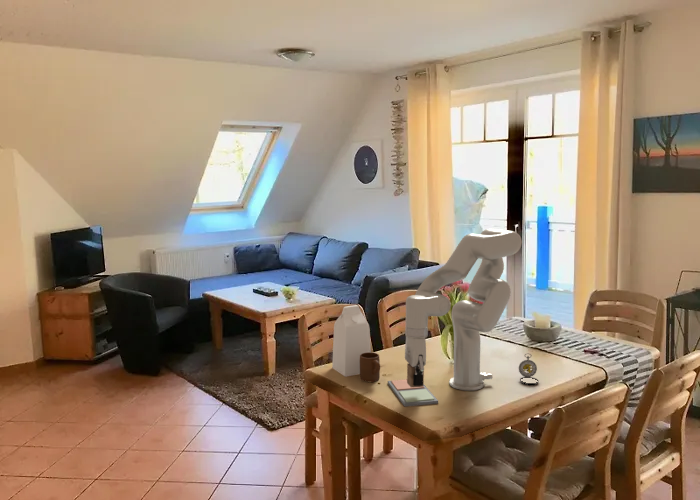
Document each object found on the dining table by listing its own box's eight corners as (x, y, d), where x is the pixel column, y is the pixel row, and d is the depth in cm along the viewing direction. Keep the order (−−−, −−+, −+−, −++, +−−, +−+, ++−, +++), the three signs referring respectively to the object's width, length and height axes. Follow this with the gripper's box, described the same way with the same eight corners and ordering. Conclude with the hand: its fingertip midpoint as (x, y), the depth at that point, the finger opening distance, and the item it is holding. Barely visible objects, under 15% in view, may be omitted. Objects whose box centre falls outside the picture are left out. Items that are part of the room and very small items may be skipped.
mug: (388, 384, 220) (388, 360, 218) (369, 387, 217) (369, 363, 215) (374, 374, 231) (374, 351, 229) (356, 377, 228) (356, 353, 226)
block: (419, 381, 208) (419, 362, 207) (423, 386, 203) (423, 366, 202) (407, 382, 207) (407, 363, 206) (410, 387, 202) (411, 367, 201)
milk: (358, 363, 244) (357, 301, 240) (372, 371, 234) (371, 307, 230) (332, 367, 239) (331, 305, 235) (345, 376, 229) (344, 311, 225)
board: (418, 380, 223) (418, 377, 223) (438, 403, 202) (438, 399, 202) (387, 383, 221) (387, 379, 221) (404, 406, 199) (404, 402, 199)
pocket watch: (528, 387, 215) (529, 360, 214) (512, 379, 223) (513, 354, 221) (545, 383, 219) (546, 357, 218) (529, 376, 227) (529, 350, 225)
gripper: (399, 325, 210) (398, 375, 212) (413, 339, 194) (412, 392, 196) (419, 324, 211) (418, 373, 214) (435, 337, 195) (434, 390, 197)
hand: (415, 382), depth 205 cm, fingers closed on block, 4 cm apart
